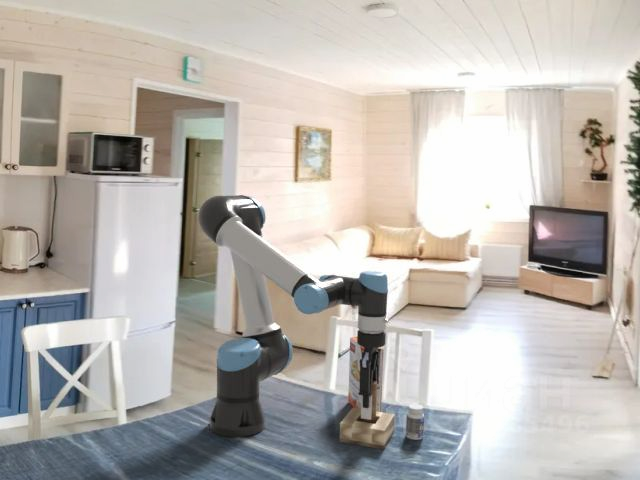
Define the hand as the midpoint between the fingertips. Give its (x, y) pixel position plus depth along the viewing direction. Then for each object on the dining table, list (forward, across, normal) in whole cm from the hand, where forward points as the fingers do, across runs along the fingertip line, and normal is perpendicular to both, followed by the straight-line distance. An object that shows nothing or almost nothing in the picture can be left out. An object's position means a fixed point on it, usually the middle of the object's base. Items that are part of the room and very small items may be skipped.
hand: (368, 415), depth 160 cm
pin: (+3, 0, 0) cm, 3 cm away
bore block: (+6, 0, 0) cm, 6 cm away
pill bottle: (+6, +5, -12) cm, 14 cm away
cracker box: (+6, +18, +6) cm, 20 cm away
